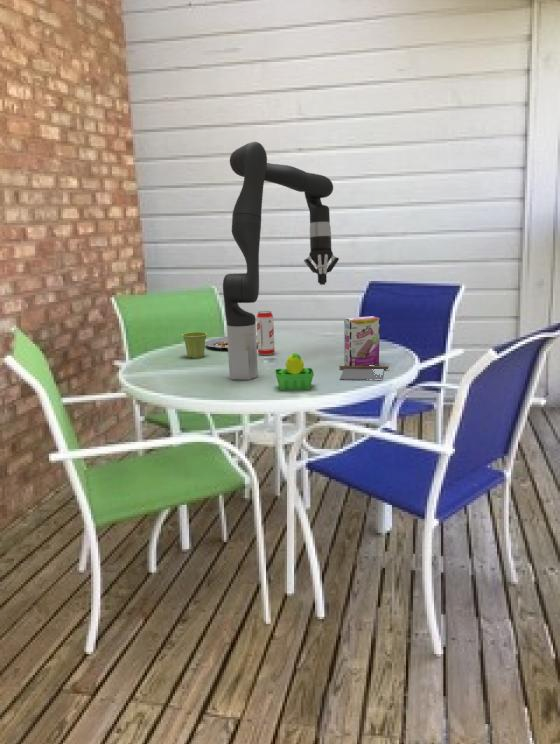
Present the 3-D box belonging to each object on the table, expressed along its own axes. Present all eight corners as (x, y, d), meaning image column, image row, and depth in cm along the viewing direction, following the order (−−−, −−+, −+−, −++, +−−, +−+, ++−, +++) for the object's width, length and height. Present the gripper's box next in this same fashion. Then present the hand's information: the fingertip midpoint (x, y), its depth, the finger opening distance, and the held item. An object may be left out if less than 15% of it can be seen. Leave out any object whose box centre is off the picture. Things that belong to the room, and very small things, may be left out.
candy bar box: (350, 369, 216) (349, 320, 212) (343, 366, 221) (343, 318, 217) (380, 365, 220) (380, 317, 216) (373, 362, 225) (373, 315, 221)
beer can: (275, 352, 247) (274, 310, 244) (273, 355, 241) (272, 312, 238) (259, 352, 248) (257, 310, 244) (257, 356, 242) (255, 313, 238)
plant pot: (205, 353, 251) (204, 331, 249) (210, 357, 242) (209, 334, 240) (181, 355, 248) (180, 333, 246) (185, 360, 239) (184, 337, 237)
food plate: (260, 337, 278) (260, 329, 277) (273, 348, 256) (272, 339, 255) (202, 344, 272) (201, 335, 272) (210, 355, 250) (209, 346, 250)
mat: (382, 380, 200) (382, 379, 200) (339, 379, 203) (339, 378, 203) (383, 370, 213) (383, 369, 213) (344, 369, 216) (344, 368, 215)
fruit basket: (312, 383, 200) (311, 347, 197) (315, 391, 191) (314, 353, 189) (275, 385, 199) (274, 349, 197) (276, 392, 191) (274, 355, 188)
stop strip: (388, 370, 213) (388, 366, 212) (339, 369, 216) (339, 366, 215) (388, 369, 213) (388, 366, 213) (339, 369, 217) (339, 365, 216)
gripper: (334, 235, 237) (336, 283, 240) (299, 237, 234) (301, 285, 237) (341, 234, 230) (343, 283, 232) (305, 235, 227) (307, 285, 229)
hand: (322, 284), depth 234 cm, fingers closed
